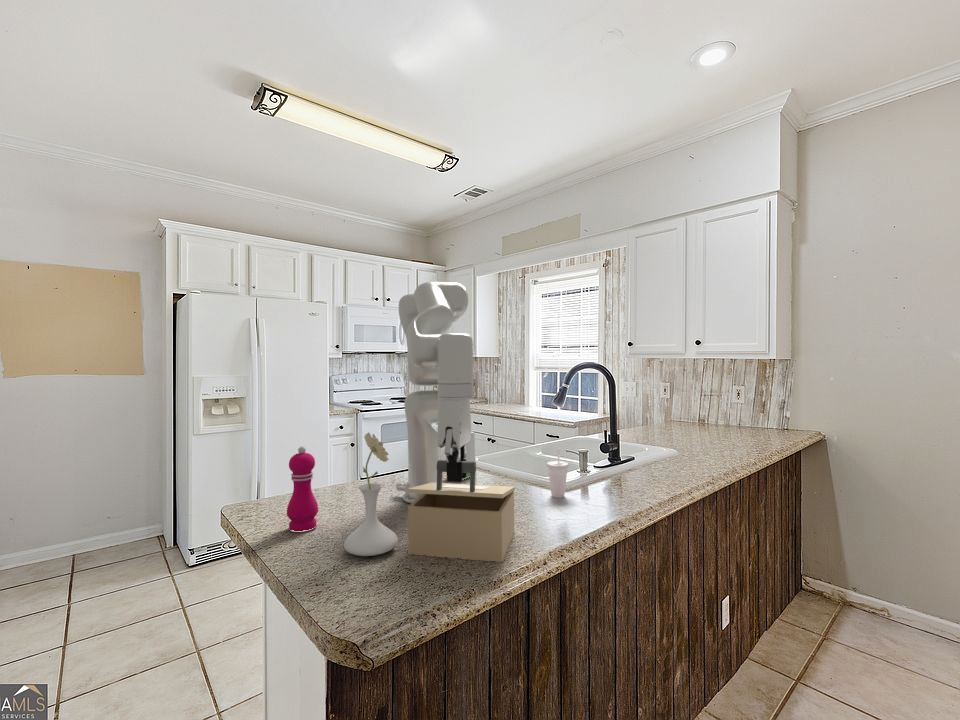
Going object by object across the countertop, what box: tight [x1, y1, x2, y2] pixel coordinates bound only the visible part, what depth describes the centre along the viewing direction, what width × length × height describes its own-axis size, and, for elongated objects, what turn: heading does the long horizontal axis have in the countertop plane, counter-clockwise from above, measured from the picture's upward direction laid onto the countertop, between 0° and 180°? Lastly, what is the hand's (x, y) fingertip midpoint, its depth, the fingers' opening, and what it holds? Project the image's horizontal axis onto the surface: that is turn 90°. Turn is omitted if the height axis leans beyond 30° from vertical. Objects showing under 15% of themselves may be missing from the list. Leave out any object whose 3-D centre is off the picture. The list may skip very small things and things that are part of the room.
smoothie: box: [546, 447, 569, 499], centre depth 139 cm, size 6×6×14 cm
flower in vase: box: [343, 431, 399, 557], centre depth 102 cm, size 13×11×25 cm
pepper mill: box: [286, 446, 319, 531], centre depth 114 cm, size 7×7×20 cm
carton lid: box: [407, 459, 516, 498], centre depth 105 cm, size 20×16×7 cm
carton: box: [407, 491, 515, 563], centre depth 104 cm, size 20×16×10 cm
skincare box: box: [462, 431, 476, 481], centre depth 162 cm, size 8×7×16 cm
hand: (456, 478), depth 99 cm, fingers closed on carton lid, 2 cm apart
